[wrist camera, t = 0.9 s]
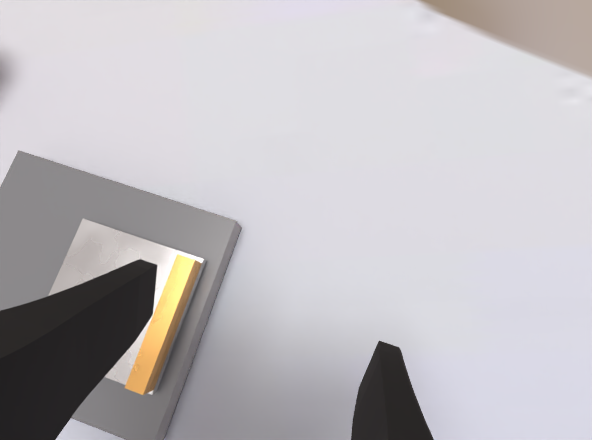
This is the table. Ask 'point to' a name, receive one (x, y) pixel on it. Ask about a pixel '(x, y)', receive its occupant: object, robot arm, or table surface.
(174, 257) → the panel
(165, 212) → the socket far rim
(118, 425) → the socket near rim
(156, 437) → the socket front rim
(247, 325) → the table surface
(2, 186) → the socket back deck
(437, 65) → the table surface
